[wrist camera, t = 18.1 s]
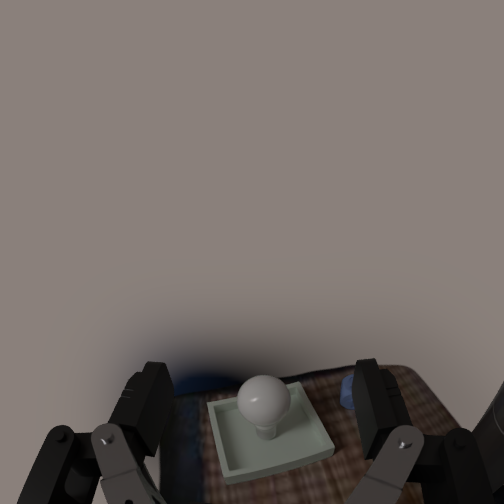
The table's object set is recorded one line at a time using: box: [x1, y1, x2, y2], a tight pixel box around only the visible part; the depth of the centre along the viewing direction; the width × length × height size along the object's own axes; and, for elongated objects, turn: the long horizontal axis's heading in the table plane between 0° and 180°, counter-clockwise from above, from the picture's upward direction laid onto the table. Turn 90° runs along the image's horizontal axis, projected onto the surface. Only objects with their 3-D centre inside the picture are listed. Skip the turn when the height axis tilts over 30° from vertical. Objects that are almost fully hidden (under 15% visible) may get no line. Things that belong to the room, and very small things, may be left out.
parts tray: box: [207, 382, 335, 485], centre depth 36 cm, size 14×13×2 cm
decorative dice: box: [340, 374, 354, 410], centre depth 40 cm, size 4×4×4 cm
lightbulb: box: [237, 375, 291, 440], centre depth 34 cm, size 6×6×11 cm
